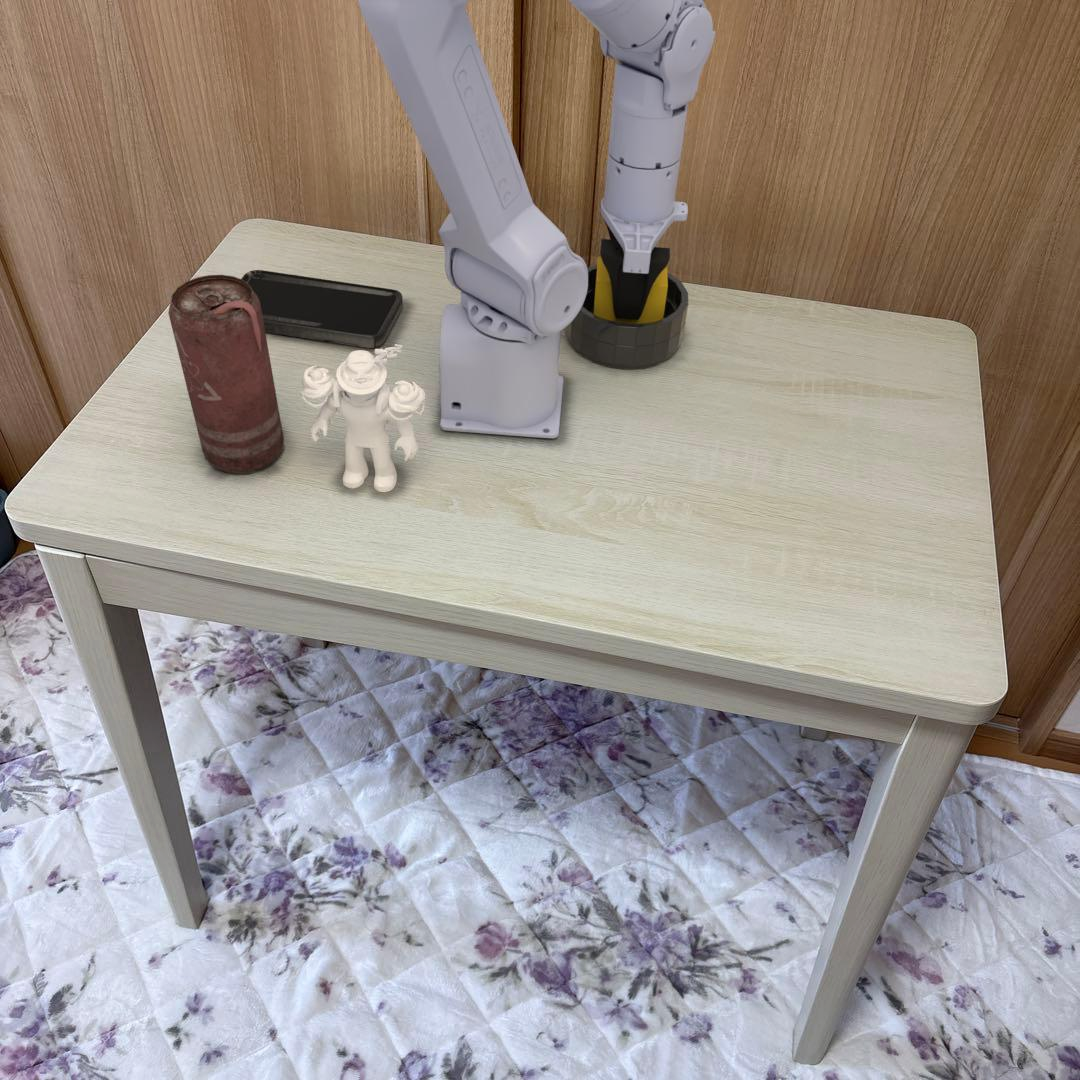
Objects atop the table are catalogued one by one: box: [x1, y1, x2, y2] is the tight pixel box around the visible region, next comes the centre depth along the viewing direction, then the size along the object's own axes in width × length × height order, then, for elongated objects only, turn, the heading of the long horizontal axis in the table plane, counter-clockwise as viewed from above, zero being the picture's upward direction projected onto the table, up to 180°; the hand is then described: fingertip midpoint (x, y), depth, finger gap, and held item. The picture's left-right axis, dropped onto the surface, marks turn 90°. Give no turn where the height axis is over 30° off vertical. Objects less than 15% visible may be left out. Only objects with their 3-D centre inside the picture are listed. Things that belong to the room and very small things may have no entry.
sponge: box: [593, 256, 668, 324], centre depth 92 cm, size 6×4×4 cm, turn 86°
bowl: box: [565, 264, 689, 370], centre depth 93 cm, size 10×10×4 cm
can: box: [167, 274, 285, 475], centre depth 77 cm, size 6×6×14 cm
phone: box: [241, 269, 404, 349], centre depth 95 cm, size 8×1×15 cm
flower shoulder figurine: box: [300, 343, 426, 493], centre depth 76 cm, size 9×4×12 cm, turn 79°
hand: (627, 302), depth 92 cm, fingers closed on sponge, 4 cm apart
